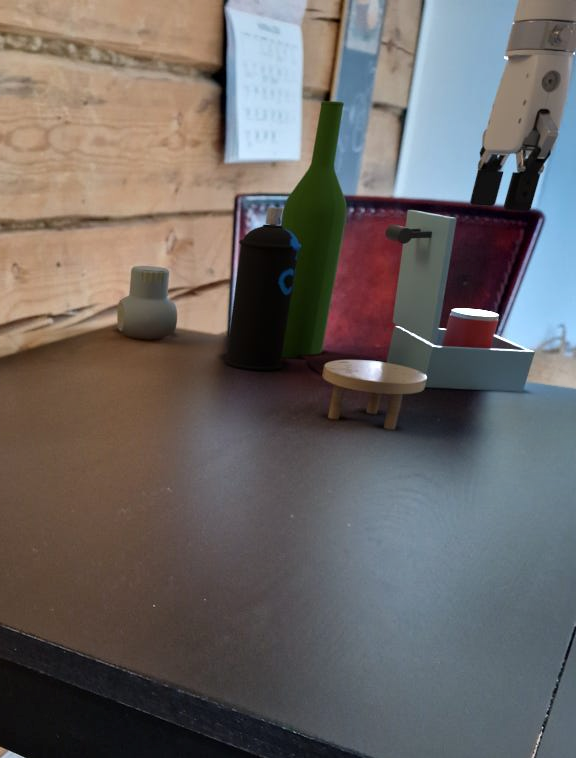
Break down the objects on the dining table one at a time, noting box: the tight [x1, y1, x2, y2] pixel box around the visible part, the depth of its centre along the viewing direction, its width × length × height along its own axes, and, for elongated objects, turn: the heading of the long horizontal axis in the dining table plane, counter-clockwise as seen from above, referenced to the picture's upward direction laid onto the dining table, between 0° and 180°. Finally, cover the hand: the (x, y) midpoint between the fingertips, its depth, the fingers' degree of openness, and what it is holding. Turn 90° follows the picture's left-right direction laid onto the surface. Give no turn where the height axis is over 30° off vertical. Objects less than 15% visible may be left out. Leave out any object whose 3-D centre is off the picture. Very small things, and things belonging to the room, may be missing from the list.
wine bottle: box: [280, 100, 348, 360], centre depth 123 cm, size 9×9×32 cm
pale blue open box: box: [385, 325, 536, 393], centre depth 118 cm, size 14×15×6 cm
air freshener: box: [116, 265, 178, 340], centre depth 133 cm, size 11×8×10 cm
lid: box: [385, 209, 457, 343], centre depth 112 cm, size 14×15×5 cm
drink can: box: [442, 308, 500, 349], centre depth 117 cm, size 6×6×8 cm
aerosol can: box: [224, 206, 301, 372], centre depth 117 cm, size 8×8×20 cm
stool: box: [321, 359, 427, 430], centre depth 95 cm, size 11×11×6 cm
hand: (498, 207), depth 108 cm, fingers open, 9 cm apart
